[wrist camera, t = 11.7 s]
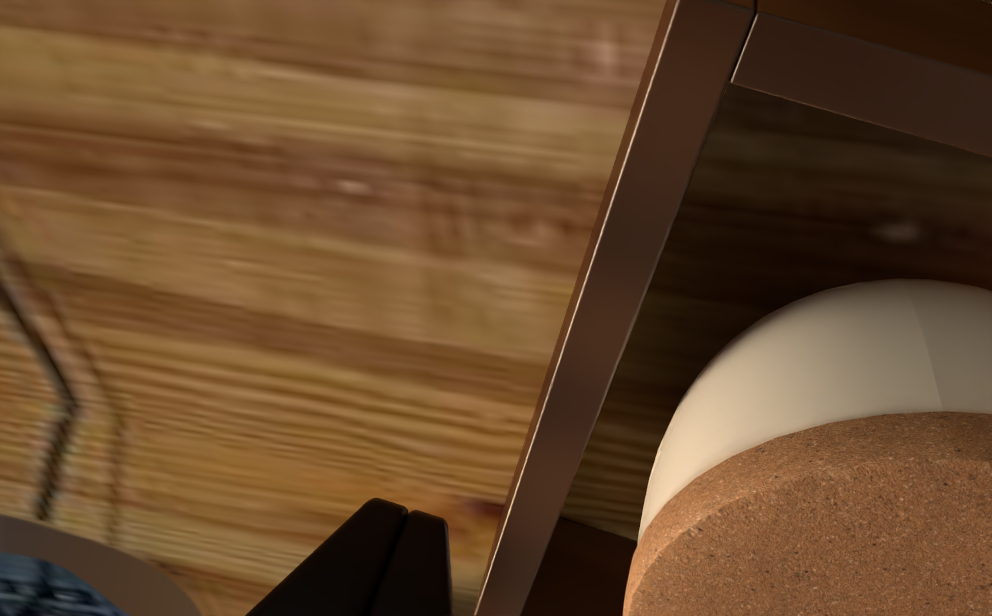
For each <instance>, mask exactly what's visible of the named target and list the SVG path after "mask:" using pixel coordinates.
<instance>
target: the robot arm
mask: <svg viewBox="0 0 992 616" xmlns="http://www.w3.org/2000/svg"><path fill="white" fill-rule="evenodd" d="M245 616H454V609H453V594H452V579H451V564H450V549H449V534H448V525H447V522H446V521H445V520H444V519H443V518H441V517H438V516H434V515H431V514H428V513H425V512H422V511H418V510H414V511H411V512H410V513H409V514H408V509H407V508H406V507H404V506H402V505H399V504H396V503H393V502H390V501H387V500H383V499H380V498H373V499H371V500H369V501H368V502H366V503H365V504H364V505H363V506H362V507H361V508H360V509H359V510H358V511H356V512H355V513H354V514H353V515H352V516H351V517H350V518H349V519H348V520H347V521H346V522H345V523H344V524H343V525H342V526H340V527H339V528H338V529H337V530H336V531H335V532H334V533H333V534H332V535H331V536H330V537H329V538H328V539H327V540H325V541H324V542H323V543H322V544H321V545H320V546H319V547H318V548H317V549H316V550H315V551H314V552H313V553H312V554H311V555H309V556H308V557H307V558H306V559H305V560H304V561H303V562H302V563H301V564H300V565H299V566H298V567H297V568H296V569H294V570H293V571H292V572H291V573H290V574H289V575H288V576H287V577H286V578H285V579H284V580H283V581H282V582H281V583H280V584H278V585H277V586H276V587H275V588H274V589H273V590H272V591H271V592H270V593H269V594H268V595H267V596H266V597H265V598H263V599H262V600H261V601H260V602H259V603H258V604H257V605H256V606H255V607H254V608H253V609H252V610H251V611H250V612H249V613H247V614H246V615H245Z"/></svg>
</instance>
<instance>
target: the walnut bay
mask: <svg viewBox="0 0 992 616" xmlns="http://www.w3.org/2000/svg"><path fill="white" fill-rule="evenodd" d="M729 80H730V83H732V84H734V85H738V86H741V87H745V88H748V89H752V90H755V91H759V92H763V93H766V94H770V95H773V96H777V97H780V98H784V99H787V100H791V101H794V102H798V103H802V104H805V105H809V106H812V107H816V108H819V109H823V110H826V111H830V112H833V113H837V114H841V115H844V116H848V117H851V118H855V119H858V120H862V121H865V122H869V123H872V124H876V125H880V126H883V127H887V128H890V129H894V130H897V131H901V132H904V133H908V134H911V135H915V136H919V137H922V138H926V139H929V140H933V141H936V142H940V143H943V144H947V145H950V146H954V147H958V148H961V149H965V150H968V151H972V152H975V153H979V154H982V155H986V156H989V157H992V4H988V3H985V2H981V1H977V0H667V1H666V5H665V8H664V11H663V14H662V17H661V20H660V23H659V26H658V29H657V32H656V36H655V39H654V42H653V45H652V48H651V51H650V54H649V57H648V60H647V64H646V67H645V70H644V73H643V76H642V79H641V82H640V85H639V88H638V92H637V95H636V98H635V101H634V104H633V107H632V110H631V113H630V116H629V120H628V123H627V126H626V129H625V132H624V135H623V138H622V141H621V144H620V147H619V151H618V154H617V157H616V160H615V163H614V166H613V169H612V172H611V175H610V179H609V182H608V185H607V188H606V191H605V194H604V197H603V200H602V203H601V207H600V210H599V213H598V216H597V219H596V222H595V225H594V228H593V231H592V234H591V238H590V241H589V244H588V247H587V250H586V253H585V256H584V259H583V262H582V266H581V269H580V272H579V275H578V278H577V281H576V284H575V287H574V290H573V294H572V297H571V300H570V303H569V306H568V309H567V312H566V315H565V318H564V322H563V325H562V328H561V331H560V334H559V337H558V340H557V343H556V346H555V349H554V353H553V356H552V359H551V362H550V365H549V368H548V371H547V374H546V377H545V381H544V384H543V387H542V390H541V393H540V396H539V399H538V402H537V405H536V409H535V412H534V415H533V418H532V421H531V424H530V427H529V430H528V433H527V436H526V440H525V443H524V446H523V449H522V452H521V455H520V458H519V461H518V464H517V468H516V471H515V474H514V477H513V480H512V483H511V486H510V489H509V492H508V496H507V499H506V502H505V505H504V508H503V511H502V514H501V517H500V520H499V523H498V527H497V531H496V534H495V538H494V541H493V545H492V548H491V552H490V556H489V559H488V563H487V566H486V570H485V574H484V577H483V581H482V584H481V588H480V592H479V595H478V599H477V602H476V606H475V609H474V613H473V616H623V607H624V599H625V592H626V586H627V581H628V576H629V572H630V567H631V562H632V558H633V554H634V552H635V550H636V548H637V544H638V542H635V541H632V540H628V539H625V538H622V537H619V536H616V535H612V534H609V533H606V532H603V531H599V530H596V529H593V528H590V527H587V526H583V525H580V524H577V523H574V522H571V521H567V520H564V519H561V518H559V516H560V514H561V511H562V509H563V506H564V504H565V501H566V498H567V496H568V493H569V491H570V488H571V486H572V483H573V480H574V478H575V475H576V473H577V470H578V468H579V465H580V463H581V460H582V457H583V455H584V452H585V450H586V447H587V445H588V442H589V439H590V437H591V434H592V432H593V429H594V427H595V424H596V421H597V419H598V416H599V414H600V411H601V409H602V406H603V403H604V401H605V398H606V396H607V393H608V391H609V388H610V386H611V383H612V380H613V378H614V375H615V373H616V370H617V368H618V365H619V362H620V360H621V357H622V355H623V352H624V350H625V347H626V344H627V342H628V339H629V337H630V334H631V332H632V329H633V326H634V324H635V321H636V319H637V316H638V314H639V311H640V309H641V306H642V303H643V301H644V298H645V296H646V293H647V291H648V288H649V285H650V283H651V280H652V278H653V275H654V273H655V270H656V267H657V265H658V262H659V260H660V257H661V255H662V252H663V249H664V247H665V244H666V242H667V239H668V237H669V234H670V232H671V229H672V226H673V224H674V221H675V219H676V216H677V214H678V211H679V208H680V206H681V203H682V201H683V198H684V196H685V193H686V190H687V188H688V185H689V183H690V180H691V178H692V175H693V172H694V170H695V167H696V165H697V162H698V160H699V157H700V155H701V152H702V149H703V147H704V144H705V142H706V139H707V137H708V134H709V131H710V129H711V126H712V124H713V121H714V119H715V116H716V113H717V111H718V108H719V106H720V103H721V101H722V98H723V96H724V93H725V90H726V88H727V85H728V83H729Z"/></svg>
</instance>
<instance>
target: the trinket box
mask: <svg viewBox="0 0 992 616" xmlns="http://www.w3.org/2000/svg"><path fill="white" fill-rule="evenodd" d="M623 616H992V291H990V290H986V289H983V288H979V287H975V286H970V285H966V284H959V283H952V282H945V281H938V280H931V279H887V280H877V281H866V282H859V283H854V284H849V285H845V286H840V287H836V288H831V289H826V290H824V291H821V292H818V293H815V294H812V295H809V296H807V297H804V298H801V299H798V300H795V301H793V302H791V303H789V304H787V305H785V306H783V307H781V308H779V309H777V310H775V311H774V312H772V313H770V314H768V315H766V316H765V317H763V318H761V319H760V320H758V321H757V322H756V323H754V324H753V325H751V326H750V327H748V328H747V329H745V330H744V331H743V332H741V333H740V334H738V335H737V336H735V337H734V338H733V339H731V340H730V341H729V342H728V343H727V344H726V345H725V346H724V347H723V348H722V349H721V350H720V351H719V352H718V353H717V354H716V355H715V356H714V357H713V358H712V359H711V360H710V361H709V362H708V364H707V365H706V366H705V367H704V369H703V370H702V371H701V372H700V374H699V375H698V376H697V378H696V379H695V380H694V382H693V383H692V384H691V386H690V387H689V389H688V390H687V391H686V393H685V394H684V395H683V397H682V398H681V401H680V403H679V405H678V407H677V409H676V411H675V413H674V416H673V418H672V420H671V422H670V424H669V426H668V429H667V431H666V433H665V435H664V437H663V440H662V442H661V444H660V446H659V448H658V452H657V455H656V458H655V462H654V465H653V468H652V472H651V475H650V478H649V483H648V488H647V492H646V497H645V502H644V507H643V513H642V519H641V525H640V530H639V536H638V544H637V548H636V550H635V552H634V554H633V558H632V562H631V567H630V572H629V576H628V581H627V586H626V592H625V599H624V607H623Z"/></svg>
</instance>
